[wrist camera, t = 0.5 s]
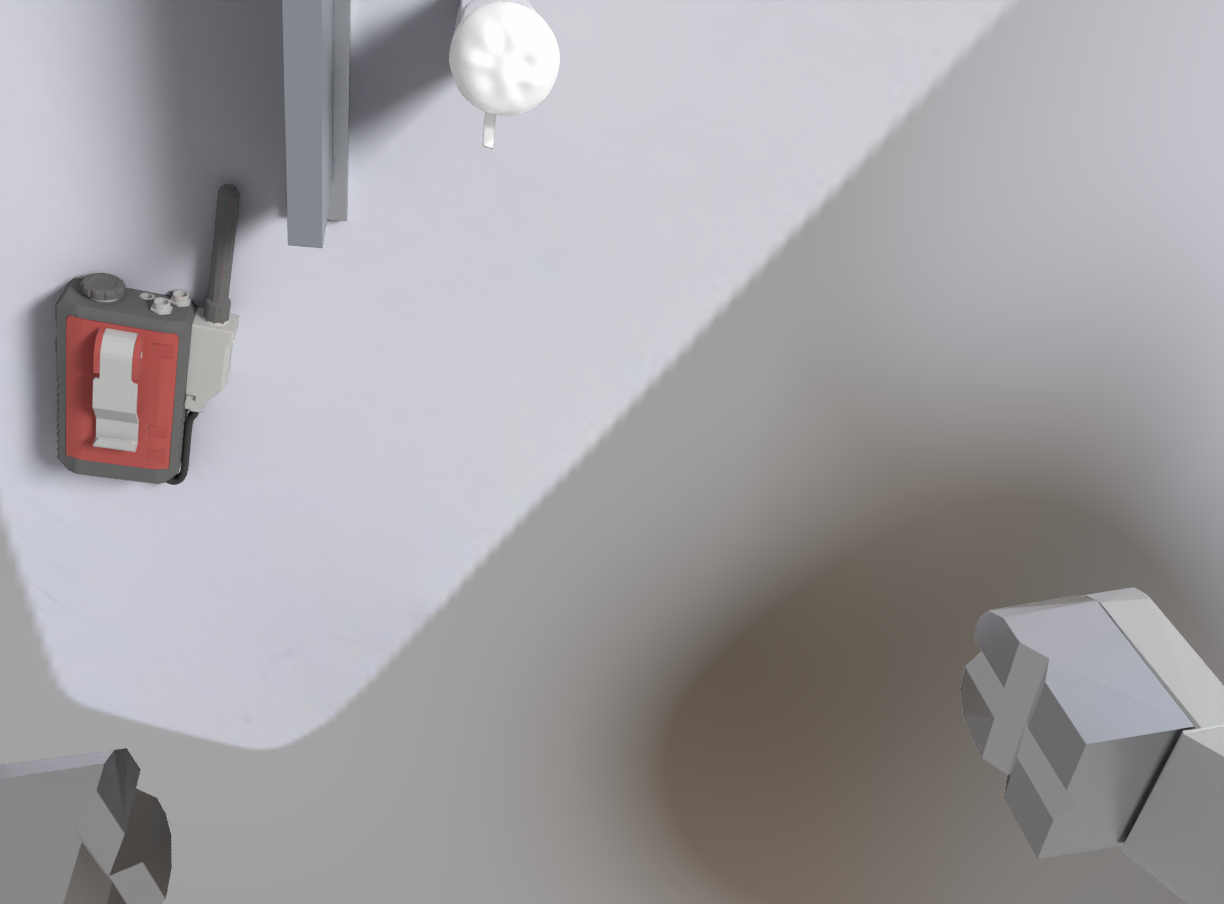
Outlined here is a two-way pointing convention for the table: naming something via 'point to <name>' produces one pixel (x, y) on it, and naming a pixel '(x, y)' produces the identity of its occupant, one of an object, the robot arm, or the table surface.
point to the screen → (308, 117)
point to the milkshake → (502, 58)
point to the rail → (340, 110)
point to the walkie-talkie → (142, 367)
